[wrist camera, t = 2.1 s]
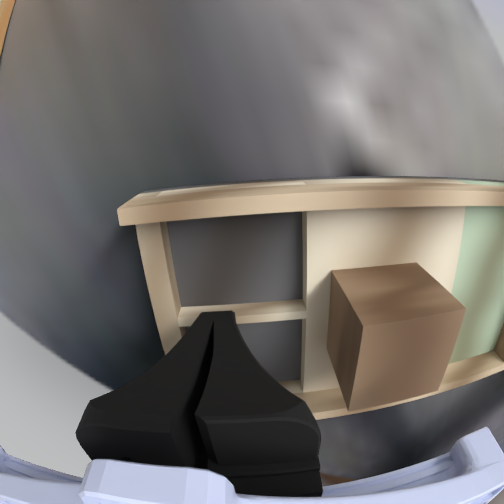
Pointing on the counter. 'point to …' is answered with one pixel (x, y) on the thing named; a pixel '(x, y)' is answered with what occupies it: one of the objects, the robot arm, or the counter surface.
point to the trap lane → (320, 264)
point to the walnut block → (390, 333)
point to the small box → (4, 18)
